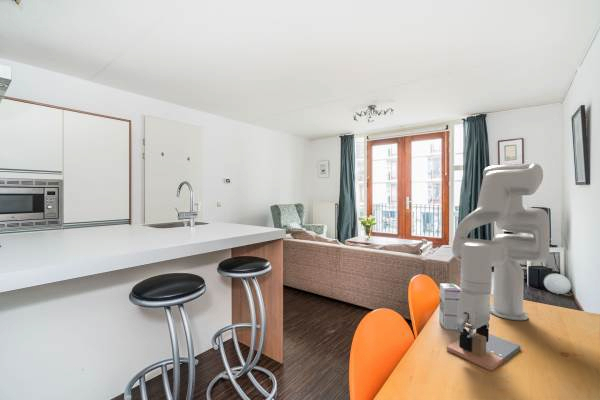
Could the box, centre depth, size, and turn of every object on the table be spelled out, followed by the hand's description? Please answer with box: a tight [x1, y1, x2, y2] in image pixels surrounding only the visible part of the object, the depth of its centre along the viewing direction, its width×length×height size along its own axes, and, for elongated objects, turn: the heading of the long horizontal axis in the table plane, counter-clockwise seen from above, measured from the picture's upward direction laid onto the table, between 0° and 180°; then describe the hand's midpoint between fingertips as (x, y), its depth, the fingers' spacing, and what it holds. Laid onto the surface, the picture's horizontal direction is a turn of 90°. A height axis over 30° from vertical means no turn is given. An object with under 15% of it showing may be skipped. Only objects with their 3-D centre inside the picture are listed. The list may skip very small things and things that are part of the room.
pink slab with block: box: [446, 329, 504, 371], centre depth 82 cm, size 7×12×6 cm, turn 34°
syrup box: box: [439, 282, 461, 331], centre depth 101 cm, size 6×6×14 cm
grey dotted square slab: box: [473, 330, 521, 363], centre depth 88 cm, size 12×12×1 cm
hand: (474, 344), depth 82 cm, fingers open, 9 cm apart
